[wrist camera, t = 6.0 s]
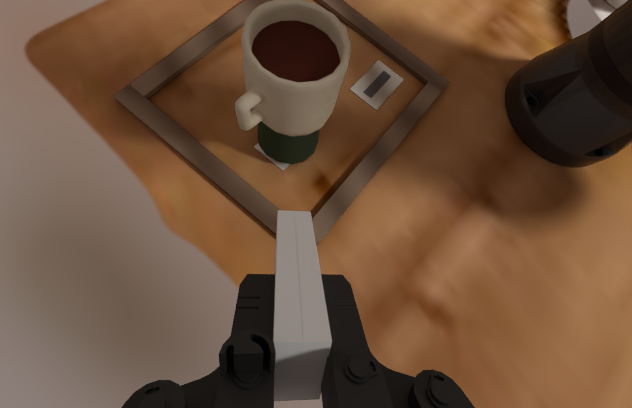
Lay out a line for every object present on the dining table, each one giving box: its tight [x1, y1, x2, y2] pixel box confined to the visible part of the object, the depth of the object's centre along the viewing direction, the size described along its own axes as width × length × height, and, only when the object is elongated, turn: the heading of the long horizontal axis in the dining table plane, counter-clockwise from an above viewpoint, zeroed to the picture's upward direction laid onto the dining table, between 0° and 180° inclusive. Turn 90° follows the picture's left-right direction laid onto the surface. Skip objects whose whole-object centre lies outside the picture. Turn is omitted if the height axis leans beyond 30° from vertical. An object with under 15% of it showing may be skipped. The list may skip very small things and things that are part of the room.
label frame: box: [113, 0, 449, 246], centre depth 32 cm, size 28×25×1 cm
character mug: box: [235, 0, 351, 164], centre depth 24 cm, size 11×7×13 cm, turn 136°
